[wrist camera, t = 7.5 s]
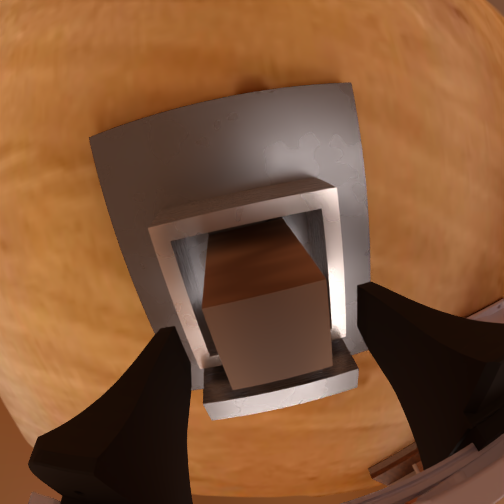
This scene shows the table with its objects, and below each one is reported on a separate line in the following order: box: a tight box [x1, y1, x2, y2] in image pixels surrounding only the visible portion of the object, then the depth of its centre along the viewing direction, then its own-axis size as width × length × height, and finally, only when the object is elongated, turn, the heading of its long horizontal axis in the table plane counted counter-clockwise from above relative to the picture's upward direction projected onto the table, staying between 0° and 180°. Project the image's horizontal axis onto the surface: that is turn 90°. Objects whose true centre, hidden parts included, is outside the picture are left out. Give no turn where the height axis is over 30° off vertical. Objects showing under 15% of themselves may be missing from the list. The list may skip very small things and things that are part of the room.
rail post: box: [202, 218, 333, 390], centre depth 13 cm, size 4×4×7 cm
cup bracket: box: [89, 83, 370, 420], centre depth 15 cm, size 14×18×6 cm
